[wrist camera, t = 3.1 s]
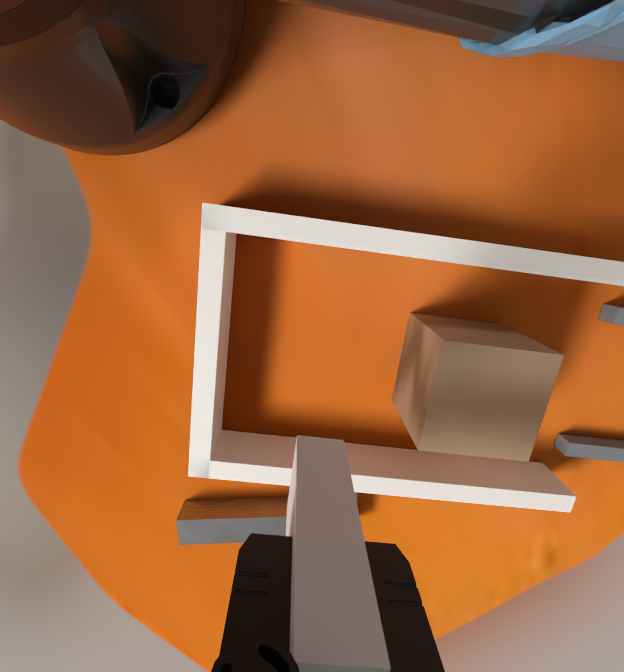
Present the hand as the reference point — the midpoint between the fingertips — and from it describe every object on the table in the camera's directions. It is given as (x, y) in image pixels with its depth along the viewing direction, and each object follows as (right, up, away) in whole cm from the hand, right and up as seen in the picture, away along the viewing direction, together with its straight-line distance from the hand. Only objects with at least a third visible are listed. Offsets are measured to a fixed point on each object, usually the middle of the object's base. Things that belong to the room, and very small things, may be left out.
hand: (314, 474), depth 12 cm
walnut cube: (+9, +3, +13) cm, 15 cm away
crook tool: (-3, -7, +15) cm, 17 cm away
